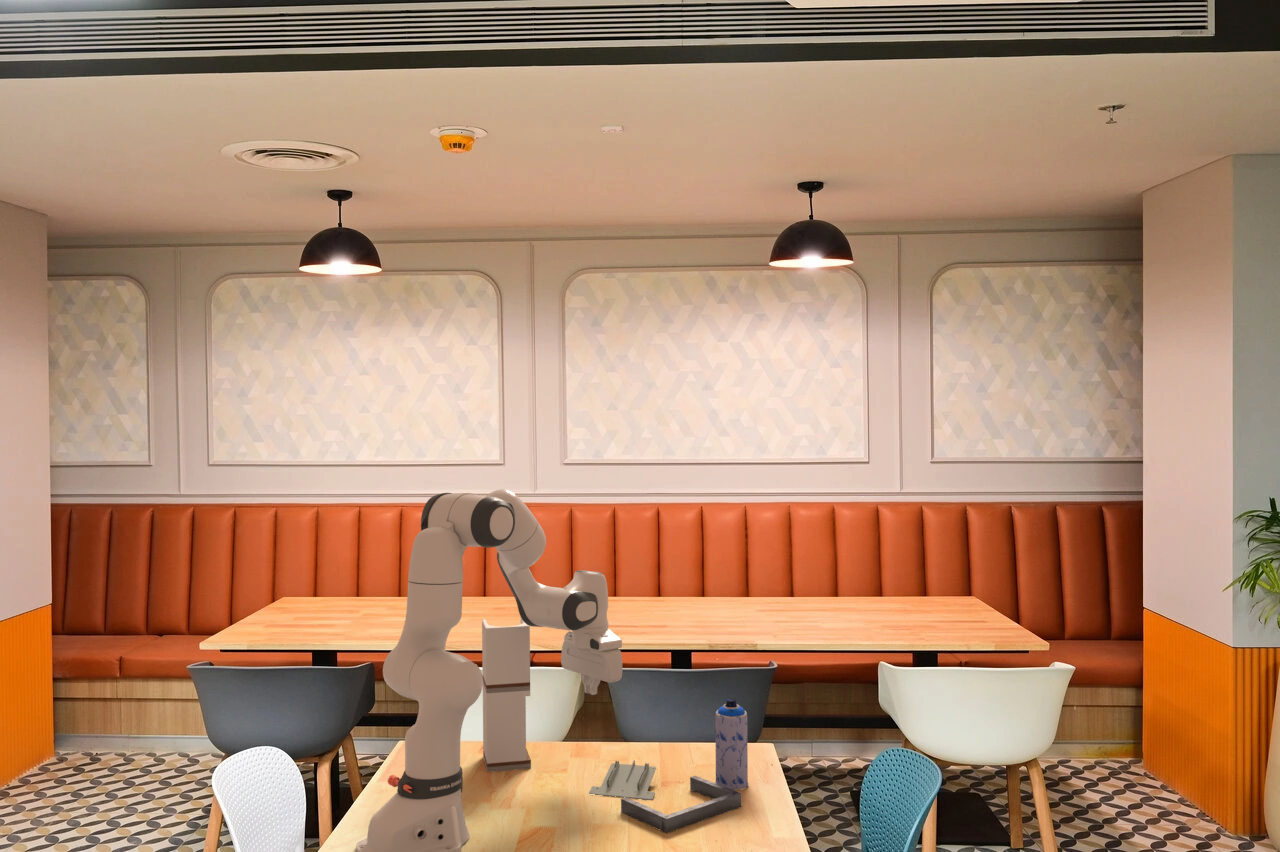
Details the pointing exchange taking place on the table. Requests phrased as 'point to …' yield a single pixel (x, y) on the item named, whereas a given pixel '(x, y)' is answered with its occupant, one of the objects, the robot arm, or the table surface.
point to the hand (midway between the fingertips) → (590, 693)
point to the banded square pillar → (505, 695)
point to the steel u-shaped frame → (720, 804)
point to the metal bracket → (627, 781)
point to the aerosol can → (731, 746)
